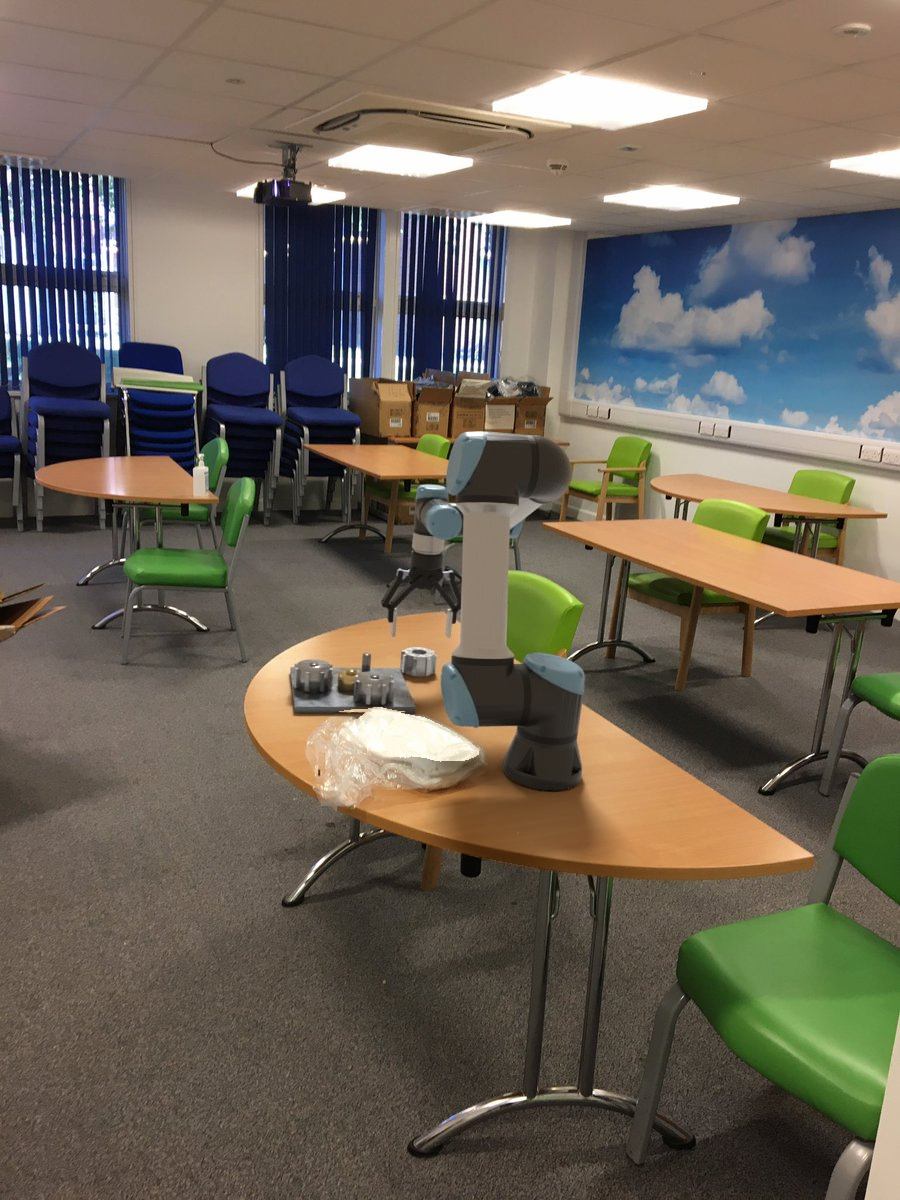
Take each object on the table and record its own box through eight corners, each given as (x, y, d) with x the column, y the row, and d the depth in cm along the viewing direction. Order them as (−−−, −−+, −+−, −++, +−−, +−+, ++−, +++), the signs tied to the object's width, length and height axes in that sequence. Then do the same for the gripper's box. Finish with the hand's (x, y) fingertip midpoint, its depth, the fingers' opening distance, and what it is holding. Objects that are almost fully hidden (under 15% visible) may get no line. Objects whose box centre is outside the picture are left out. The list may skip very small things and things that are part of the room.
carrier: (415, 713, 203) (417, 684, 201) (294, 713, 197) (296, 683, 195) (398, 674, 225) (400, 647, 223) (290, 673, 220) (291, 645, 218)
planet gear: (437, 677, 225) (439, 658, 224) (403, 677, 223) (404, 657, 222) (431, 665, 233) (433, 646, 232) (398, 665, 231) (399, 646, 230)
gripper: (475, 548, 226) (467, 631, 232) (373, 544, 221) (367, 629, 227) (482, 556, 219) (473, 641, 225) (377, 552, 214) (371, 639, 220)
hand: (420, 635), depth 226 cm, fingers open, 13 cm apart
